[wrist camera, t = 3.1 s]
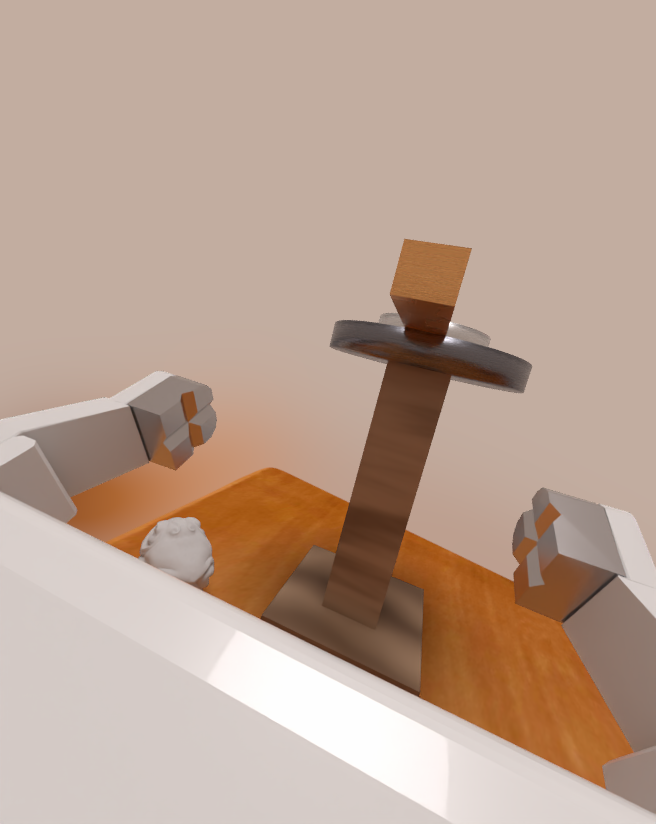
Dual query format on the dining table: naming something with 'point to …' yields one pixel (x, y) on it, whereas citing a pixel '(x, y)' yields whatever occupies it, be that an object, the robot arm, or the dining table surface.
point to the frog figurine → (180, 551)
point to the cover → (430, 290)
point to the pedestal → (385, 503)
